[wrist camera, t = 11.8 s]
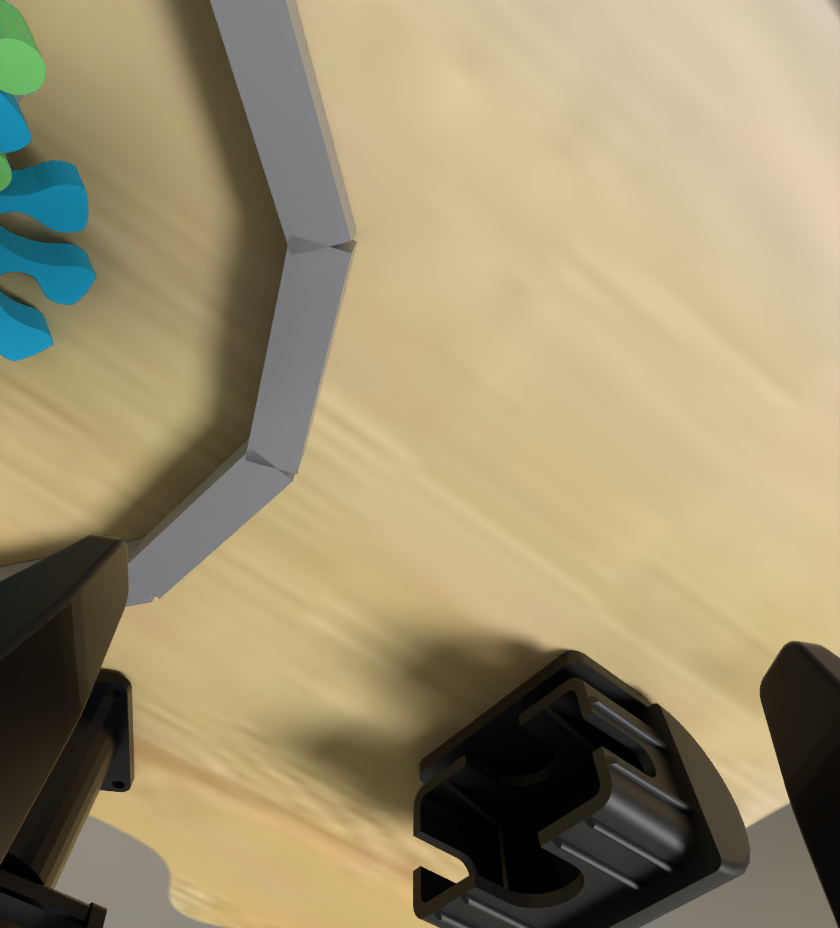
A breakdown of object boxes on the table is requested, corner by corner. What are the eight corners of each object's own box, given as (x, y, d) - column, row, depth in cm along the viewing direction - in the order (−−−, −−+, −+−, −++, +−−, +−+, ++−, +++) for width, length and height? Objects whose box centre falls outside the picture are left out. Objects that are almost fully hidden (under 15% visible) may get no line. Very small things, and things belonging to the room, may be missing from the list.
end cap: (524, 834, 30) (550, 1015, 24) (406, 769, 28) (403, 952, 22) (701, 722, 26) (784, 903, 20) (582, 636, 24) (636, 812, 18)
